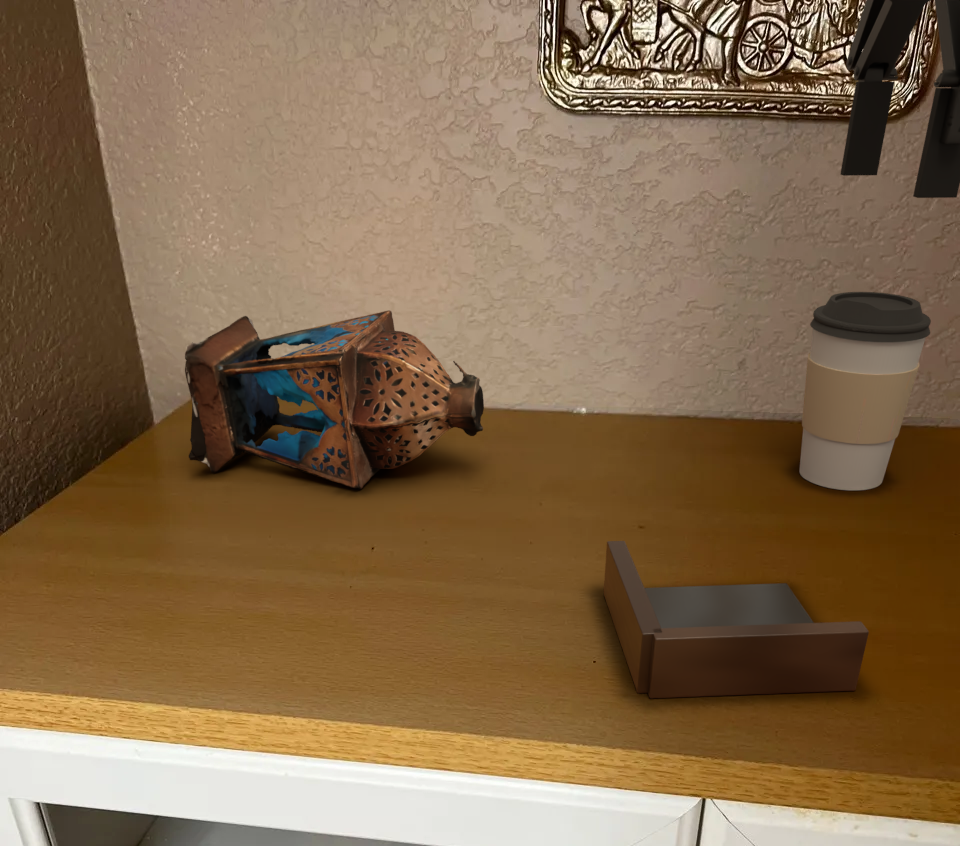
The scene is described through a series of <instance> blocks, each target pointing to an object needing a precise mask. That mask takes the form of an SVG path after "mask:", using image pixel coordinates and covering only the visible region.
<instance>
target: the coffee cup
mask: <svg viewBox="0 0 960 846" xmlns="http://www.w3.org/2000/svg"><path fill="white" fill-rule="evenodd" d="M812 316H813V318H812V320H811V322H810V324H809V326H810V328H812V330H811V341H810V352H809V353H808V354H807V360H806V370H805V371H806V374H805V384H804V393H803V395H804V397H803V404H802V405H803V407H802V419H801V427H802V439H801V448H800V460H799V461H800V462H799V469H798V470H799V474H800V476H801V477H802V478H803V479H804V480H806V481H807V482H809V483H812V484H814V485H818V486H820V487H823V488H828V489H833V490H840V491H866V490H867V491H868V490H871V489H875V488H877V487H879V486H880V485H882V484H883V481H884V478H885V475H886V470H887V467H888V464H889V462H890V457H891V453H892V451H893V448H894V445H895V441H896V439H897V438H898V436H899V434H900V431H901V427H902V425H903V421H904V418H905V414H906V411H907V408H908V405H909V401H910V398H911V394H912V392H913V388H914V384H915V382H916V379H917V374H918V372H919V369H920V365H921V364H920V362H919V361H920V358H921V354H922V352H923V349H924V345H925V344H924V343H925V341H926V338H927V337H929V336H930V334H931V330H930V326H931V324H932V323H931V322H932V320H931V317H929V315H927V314H926V313H924V312H923V309H922V305H921V303H920V301H919V300H917V299H914V298H912V297H908V296H904V295H900V294H894V293H887V292H874V291H847V292H845V291H844V292H840V293H835V294H832V295H831V296H830V297H829V299H828V300H827V301H826V303H825V304H823V305H820V306H818V307H816V308H815V309H814V310H813V315H812Z"/></svg>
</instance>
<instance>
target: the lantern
mask: <svg viewBox="0 0 960 846" xmlns="http://www.w3.org/2000/svg"><path fill="white" fill-rule="evenodd" d="M394 324H395V323H394V318H393V312H392V310H384V311H380V312H376V313H375V312H374V313H371V314H367V315H362V316H357V317H353V318H348V319H344V320H340V321H334V322H330V323H327V324H322V325H318V326H314V327H310V328H304V329H300V330H296V331H291V332H287V333H283V334H279V335H274V336H270V337H267V338H266V337H265V338H262V339H260V337H259V334H258V332H257V330H256V329H255V327H254V322H253V320H252V319H251V318H250V317H248V316H247V315H243V316H240V317H238V319H236V320H235V321H234V322H232V323H231V324H230V325H228V326H226V327H224V328H223V329H221V330H219V331H217V332H215V333H214V334H212V335H210V336H208V337H206V338H204V339H202V340H200V341H198V342H191V343H189V344H188V345H187V346H186V350H185V353H184V360H185V365H184V374H185V379H186V383H187V388H188V391H189V394H190V399H191V403H192V405H191V421H190V422H191V423H190V425H191V426H190V438H189V441H190V444H191V449H190V451H189V453H188V458H189V460H190V461H197V462H200V463H203V464H206V465H207V467H208V468H209V470H210V472H211V473H217V472H218V471H219V470H221V469H222V467H224V466H225V465H226V464H228V463H229V462H230V461H231V460H233V459H235V457H238V456H241V455H242V453H247V454H249V455H251V456H253V457H258V458H260V459H261V460H267V461H269V462H272V463H276V464H278V465H281V466H283V467H287V468H289V469H292V470H296V471H299V472H301V473H302V472H303V473H304V474H309V475H312V476H314V477H318V478H320V479H324V480H327V481H329V482H333V483H338V484H340V485H342V486H344V487H348V488H352V489H355V490H362V489H363V488H364V486H365V485H366V484H367V483H368V482H369V481H371V480H370V479H371V478H372V477H374V476H375V474H377V472H379V471H380V470H381V469H382V470H393V469H397V468H399V467H402V466H404V465H405V464H408V463H410V462H412V461H413V460H415V459H416V458H418V457H421V455H422V454H423V453H424V452H426V451H427V450H428V449H429V448H430V447H432V446H433V445H434V443H436V442H437V441H438V440H439V439H440V438H441V437H442V436H443V435H444V434H445V433H446V432H448V431H449V430H451V429H453V428H457V429H461V430H462V431H463V432H464V433H465V434H466V435H468V436H469V437H475V436H476V435H477V434H478V433H479V432H482V431H483V430H484V426H483V425H482V424H481V423H482V422H481V421H482V420H481V419H482V416H483V414H484V409H485V403H484V392H483V387H482V386H481V385H480V381H481V380H480V377H477V376H476V375H474V374H468V373H467V372H465V370H464V369H463V368H462V367H461V366H460V365H459V364H458V363H457V362H456V361H455V360H453V364H454V365H455V366H456V367H457V369H458V370H459V372H460V373H462V379H461V381H458V382H454V381H453V379H452V378H451V376H450V374H449V373H448V372H447V371H446V369H445V367H444V366H443V365H442V363H441V361H440V360H439V359H438V358H437V357H436V355H435V354H434V353H433V352H432V350H430V349H429V348H428V347H427V346H426V344H425V343H424V342H422V340H420V339H419V338H418V337H417V336H415V335H413V334H411V333H409V332H406V331H401V330H395V325H394ZM283 344H284V345H285V344H286V345H288V346H290V347H292V346H293V347H295V346H296V347H298V346H301V345H308V346H305V347H303V348H301V349H298V350H295V351H291V352H289V353H287V354H285V355H281V356H280V357H279V356H278V357H275V358H272V355H270V349H271V348H272V347H273V346H280V345H281V346H282V345H283ZM278 399H280V400H281V401H286V402H287V403H294V404H296V405H297V407H301V406H302V404H303V401H306V402H307V403H311V404H313V405H314V407H315V408H316V409H313V410H308V411H307V412H302V411H301V412H298V413H297V412H296V413H294V414H292V415H288V414H285V413H282V412H281V411H280V403H279V400H278ZM273 426H282V427H287V428H292V429H293V428H294V429H299V430H300V431H298V432H297V433H295V434H291V433H290V432H288V431H287V430H285V431H283V432H279V433H278V434H277V438H278V439H277V440H275V439H272V438H267V439H265V440H263V441H262V443H261V444H260V445H256V443H257V442H258V440H259V439H261V438H262V437H264V435H265V434H266V433H268V432H269V430H271V428H272V427H273ZM315 432H317V433H321V434H320V435H318V434H317V433H315Z"/></svg>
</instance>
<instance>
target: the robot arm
mask: <svg viewBox="0 0 960 846" xmlns="http://www.w3.org/2000/svg"><path fill="white" fill-rule="evenodd" d="M931 1H932V0H865V4H864V7H863V9H862V12H861V16H860V19H859V22H858V25H857V27H856V31H855V34H854V38H853V40H852V44H851V47H850V49H849V53H848V56H847V59H846V63H845V67H846V70H847V71H853V79H854V81H856V82H855V86H854V92H853V98H852V104H851V110H850V116H849V121H848V128H847V133H846V139H845V144H844V151H843V156H842V161H841V168H840V175H841V176H844V177H845V176H846V177H848V176H850V177H851V176H878V172H879V167H880V161H881V155H882V151H883V144H884V139H885V135H886V129H887V124H888V118H889V114H890V108H891V102H892V98H893V92H894V86H895V81H896V80H898V78H899V76H898V70H897V68H896V66H897V65H896V64H897V62H898V60H899V58H900V56H901V54H902V52H903V49H904V47H905V45H906V44H907V42H908V40H909V38H910V35H911V34H912V31H913V30H914V28H915V26H916V23H917V21H918V20H919V17H920V16H921V13H922V12H923V9H924V7H925V5H926V4H927V3H928V2H931ZM934 4H935V13H936V19H937V29H938V37H939V46H940V53H941V54H940V55H941V62H942V71H941V72H940V73H939V74H938V76H937V78H936V79H935V81H934V82H933V86H934V88H935V90H934V94H933V99H932V103H931V109H930V113H929V118H928V123H927V128H926V131H925V132H926V133H925V137H924V141H923V147H922V151H921V157H920V162H919V167H918V171H917V176H916V181H915V185H914V190H913V195H912V197H914V198H917V199H933V198H934V199H942V198H943V199H944V198H945V199H947V198H949V199H951V198H958V193H959V190H960V189H959V188H960V0H934Z"/></svg>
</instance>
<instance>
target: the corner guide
mask: <svg viewBox="0 0 960 846" xmlns="http://www.w3.org/2000/svg"><path fill="white" fill-rule="evenodd" d="M631 555H632V554H631V553H630V551H629V548H628V545H627V543H626V541H625V540H607V541H606V552H605V566H604V581H603V582H604V583H603V596H604V599H605V603H606V605H607V608H608V611H609V614H610V617H611V621H612V622H613V626H614V629H615V632H616V634H617V638H618V640H619V643H620V646H621V649H622V653H623V656H624V658H625V661H626V663H627V667H628V669H629V672H630V673H629V674H630V675H631V679H632V681H633V684H634V688H635V690H636V693H637V694H648V697H649V699H671V698H694V697H721V696H722V697H723V696H748V695H773V694H775V695H776V694H777V695H778V694H798V693H799V694H800V693H802V694H803V693H824V692H826V693H829V692H852V691H853V692H854V691H856V690H857V686H858V681H859V676H860V672H861V668H862V664H863V659H864V655H865V650H866V647H867V642H868V638H869V632H870V631H869V630H868V628H867V627H866V626H865V625H864V623H863V622H862V621H861V620H859V621H858V620H857V621H833V622H831V621H830V622H829V621H827V622H814V621H813V619H812V618H811V616H810V615H809V614H808V612H807V610H806V609H805V608H804V606H803V605H802V603H801V602H800V600H799V599H798V597H797V596H796V595H795V594H794V592H793V590H792V589H791V587H790V586H789V584H788V583H786V582H784V583H783V582H782V583H756V584H755V583H753V584H751V583H750V584H723V585H719V584H718V585H693V586H692V585H691V586H689V585H688V586H665V587H664V586H663V587H662V586H661V587H645V586H644V584H643V581H642V579H641V576H640V574H639V572H638V570H637V567H636V564H635V562H634V560H633V557H632V556H631Z"/></svg>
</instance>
